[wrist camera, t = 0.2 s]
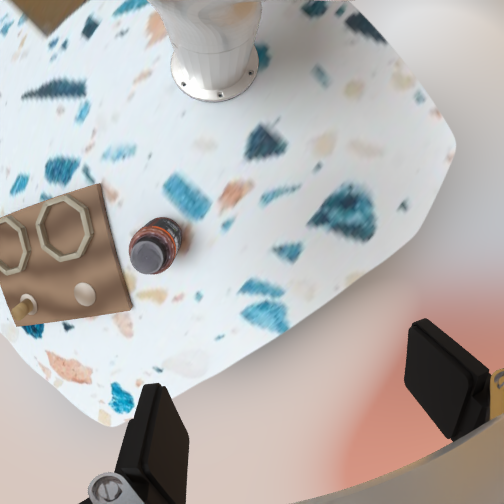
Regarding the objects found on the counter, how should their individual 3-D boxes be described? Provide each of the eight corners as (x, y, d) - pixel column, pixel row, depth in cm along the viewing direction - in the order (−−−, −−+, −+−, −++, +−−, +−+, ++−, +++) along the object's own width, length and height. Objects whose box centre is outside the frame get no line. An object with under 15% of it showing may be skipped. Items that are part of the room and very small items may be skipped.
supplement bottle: (139, 248, 44) (115, 272, 33) (150, 211, 43) (128, 224, 32) (175, 261, 45) (162, 289, 35) (188, 224, 44) (177, 242, 33)
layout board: (-12, 223, 40) (-32, 230, 34) (99, 183, 41) (83, 185, 35) (20, 323, 45) (4, 337, 40) (132, 306, 47) (122, 323, 41)
